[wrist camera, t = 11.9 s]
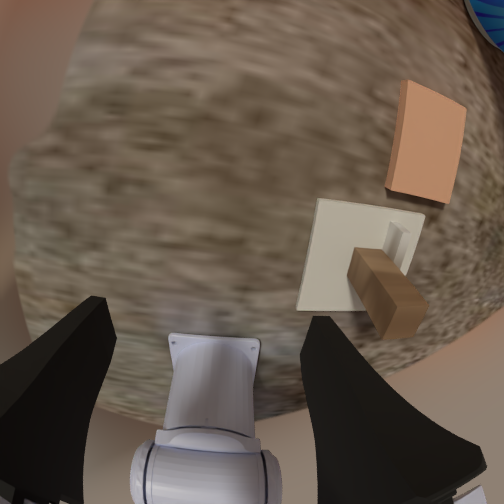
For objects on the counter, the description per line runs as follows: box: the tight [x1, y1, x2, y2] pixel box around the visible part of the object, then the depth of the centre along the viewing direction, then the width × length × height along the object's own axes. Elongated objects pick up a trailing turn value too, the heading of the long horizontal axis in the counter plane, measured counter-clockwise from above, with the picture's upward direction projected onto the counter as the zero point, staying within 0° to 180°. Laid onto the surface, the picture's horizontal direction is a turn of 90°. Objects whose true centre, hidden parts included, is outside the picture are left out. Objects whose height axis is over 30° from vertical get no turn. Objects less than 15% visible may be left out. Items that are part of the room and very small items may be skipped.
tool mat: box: [296, 198, 425, 311], centre depth 20 cm, size 9×9×1 cm
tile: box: [385, 80, 467, 204], centre depth 16 cm, size 8×1×6 cm
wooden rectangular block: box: [347, 221, 429, 340], centre depth 17 cm, size 7×3×7 cm, turn 175°
